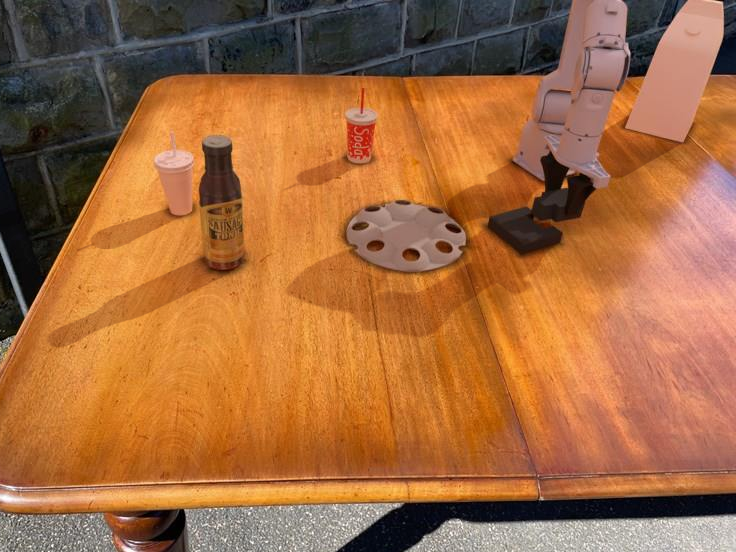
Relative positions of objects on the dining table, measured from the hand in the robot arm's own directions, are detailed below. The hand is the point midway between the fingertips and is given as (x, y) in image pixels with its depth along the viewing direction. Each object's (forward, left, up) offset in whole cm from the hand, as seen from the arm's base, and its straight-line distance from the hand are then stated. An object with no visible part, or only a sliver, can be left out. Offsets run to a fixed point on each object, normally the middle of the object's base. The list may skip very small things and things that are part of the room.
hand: (560, 205), depth 106 cm
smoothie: (-31, -56, -4) cm, 64 cm away
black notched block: (0, -1, -1) cm, 2 cm away
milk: (-21, +49, -4) cm, 54 cm away
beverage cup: (-35, -19, -4) cm, 40 cm away
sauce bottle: (-14, -54, -4) cm, 56 cm away
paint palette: (-8, -25, -4) cm, 27 cm away
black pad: (0, -7, -4) cm, 8 cm away
